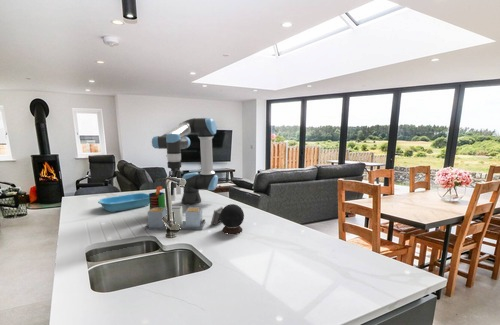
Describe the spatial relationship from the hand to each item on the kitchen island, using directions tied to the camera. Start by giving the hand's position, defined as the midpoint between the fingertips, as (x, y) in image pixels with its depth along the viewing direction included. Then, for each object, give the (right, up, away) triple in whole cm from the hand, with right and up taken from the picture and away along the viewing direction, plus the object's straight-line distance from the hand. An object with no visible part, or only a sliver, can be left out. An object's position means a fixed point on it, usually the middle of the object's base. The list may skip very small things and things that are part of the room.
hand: (175, 197), depth 152 cm
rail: (0, -17, +2) cm, 17 cm away
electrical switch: (+24, -17, +8) cm, 30 cm away
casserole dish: (-48, -13, +42) cm, 65 cm away
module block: (0, -16, +2) cm, 16 cm away
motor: (-16, -15, +17) cm, 28 cm away
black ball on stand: (+33, -18, -5) cm, 38 cm away
